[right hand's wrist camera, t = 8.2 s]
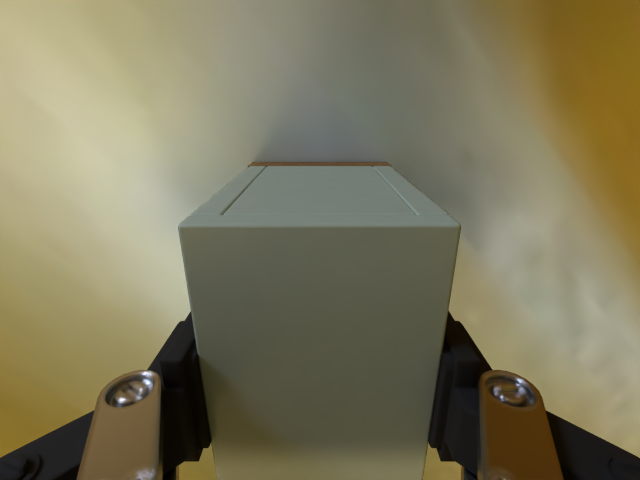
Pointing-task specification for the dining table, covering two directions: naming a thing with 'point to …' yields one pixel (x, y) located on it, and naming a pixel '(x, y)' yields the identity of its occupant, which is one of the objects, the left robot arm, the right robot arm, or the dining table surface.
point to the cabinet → (319, 319)
